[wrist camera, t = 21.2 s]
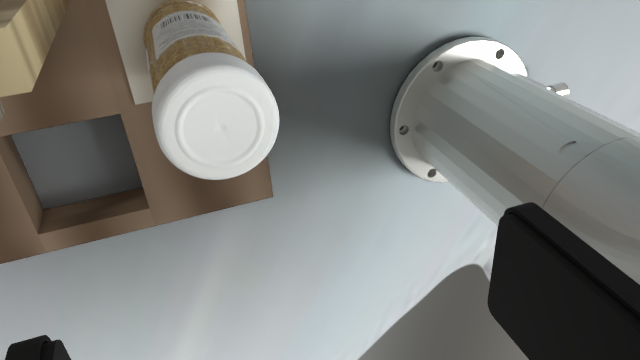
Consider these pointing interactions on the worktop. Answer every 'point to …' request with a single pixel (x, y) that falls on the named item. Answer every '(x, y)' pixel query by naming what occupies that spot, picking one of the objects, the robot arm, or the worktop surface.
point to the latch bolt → (1, 111)
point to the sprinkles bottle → (206, 94)
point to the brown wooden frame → (95, 102)
